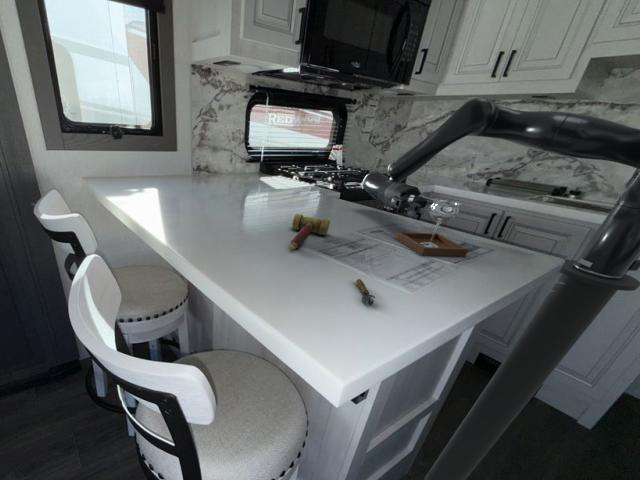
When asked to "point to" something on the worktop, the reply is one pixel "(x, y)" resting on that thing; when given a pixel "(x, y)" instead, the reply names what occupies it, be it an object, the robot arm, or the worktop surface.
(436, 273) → the worktop surface
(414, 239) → the tray
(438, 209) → the wineglass
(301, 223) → the gavel
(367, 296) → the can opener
